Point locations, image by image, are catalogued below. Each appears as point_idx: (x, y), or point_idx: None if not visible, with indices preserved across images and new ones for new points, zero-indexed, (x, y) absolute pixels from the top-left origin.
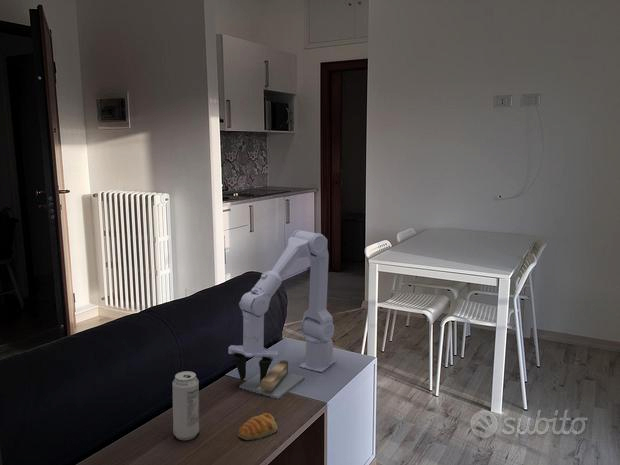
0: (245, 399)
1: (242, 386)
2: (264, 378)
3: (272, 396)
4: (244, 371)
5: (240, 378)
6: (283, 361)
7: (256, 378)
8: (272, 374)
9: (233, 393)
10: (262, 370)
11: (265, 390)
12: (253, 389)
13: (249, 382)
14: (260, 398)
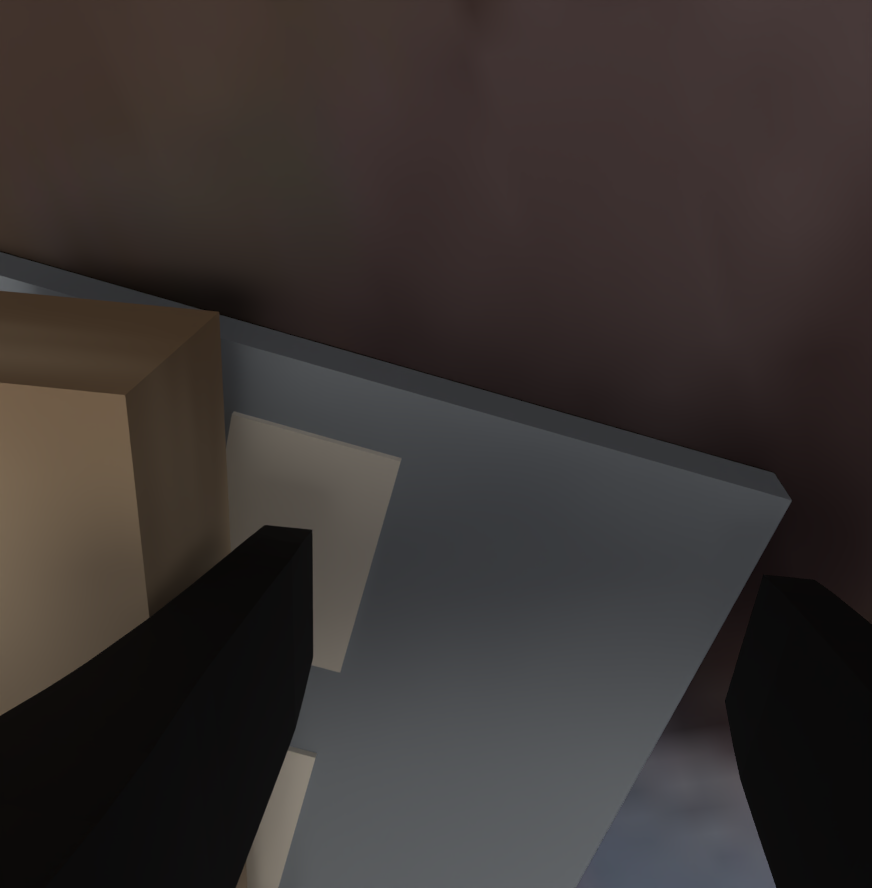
0: (528, 25)
1: (723, 483)
2: (105, 555)
3: (8, 262)
4: (791, 806)
5: (833, 594)
6: None
7: (540, 788)
8: None
9: (867, 240)
10: (45, 747)
11: None
12: (460, 411)
13: (622, 649)
14: (233, 170)
